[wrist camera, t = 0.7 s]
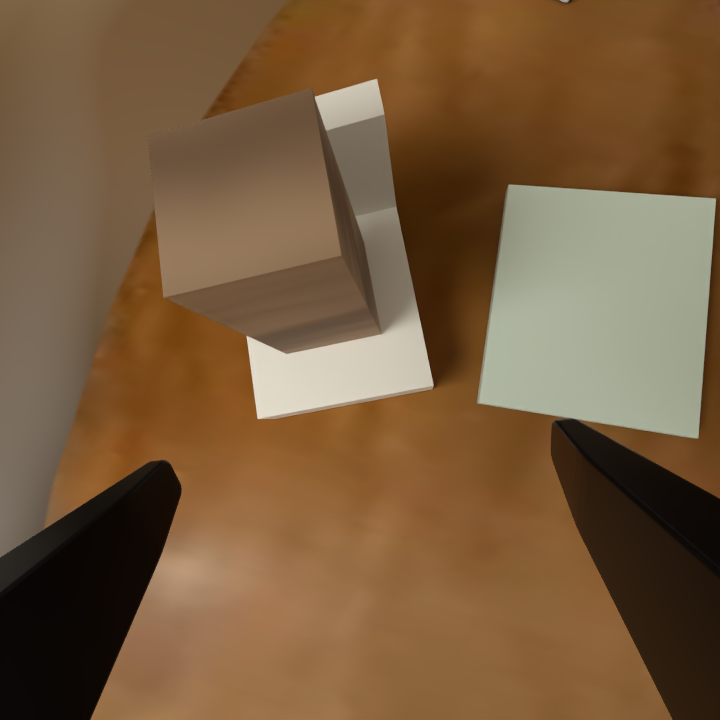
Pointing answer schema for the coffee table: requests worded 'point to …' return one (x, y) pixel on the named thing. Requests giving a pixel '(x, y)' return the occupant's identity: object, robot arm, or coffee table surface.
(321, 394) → the ledge
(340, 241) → the walnut block
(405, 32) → the coffee table surface
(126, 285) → the coffee table surface
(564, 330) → the pad
